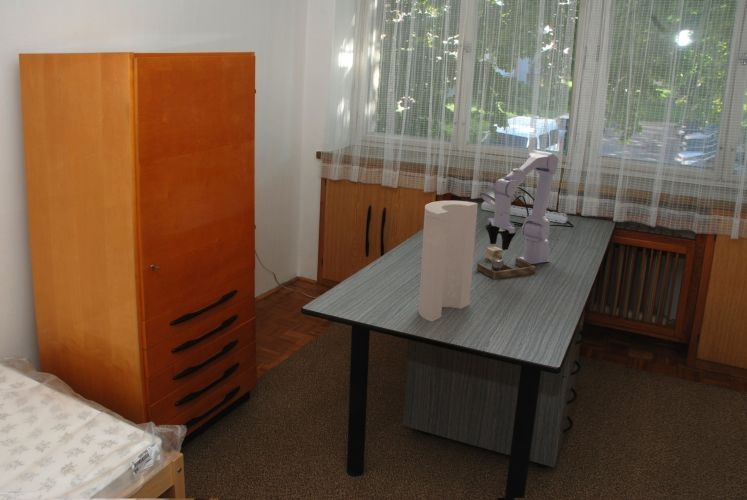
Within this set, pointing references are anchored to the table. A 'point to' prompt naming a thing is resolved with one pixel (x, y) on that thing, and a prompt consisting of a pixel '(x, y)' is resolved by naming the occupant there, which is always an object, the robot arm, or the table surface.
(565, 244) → the table surface
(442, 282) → the white curved column
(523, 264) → the rack
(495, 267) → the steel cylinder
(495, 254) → the maple block
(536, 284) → the table surface
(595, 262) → the table surface
